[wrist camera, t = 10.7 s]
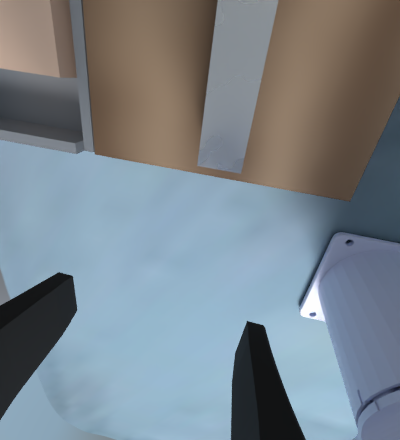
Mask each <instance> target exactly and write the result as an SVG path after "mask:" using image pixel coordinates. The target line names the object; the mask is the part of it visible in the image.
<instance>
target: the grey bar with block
mask: <svg viewBox="0 0 400 440" xmlns="http://www.w3.org/2000/svg"><path fill="white" fill-rule="evenodd" d="M277 5H278V0H218V3H217V11H216V19H215V27H214V35H213V43H212V51H211V59H210V67H209V75H208V83H207V91H206V99H205V107H204V115H203V123H202V131H201V139H200V148H199V156H198V164H197V166H201V167H207V168H212V169H218V170H223V171H229V172H234V173H240V174H241V171H242V167H243V162H244V157H245V153H246V148H247V143H248V139H249V134H250V130H251V125H252V120H253V116H254V111H255V107H256V102H257V97H258V93H259V88H260V83H261V79H262V74H263V70H264V65H265V60H266V56H267V51H268V47H269V42H270V37H271V33H272V28H273V23H274V19H275V14H276V10H277Z"/></svg>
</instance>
